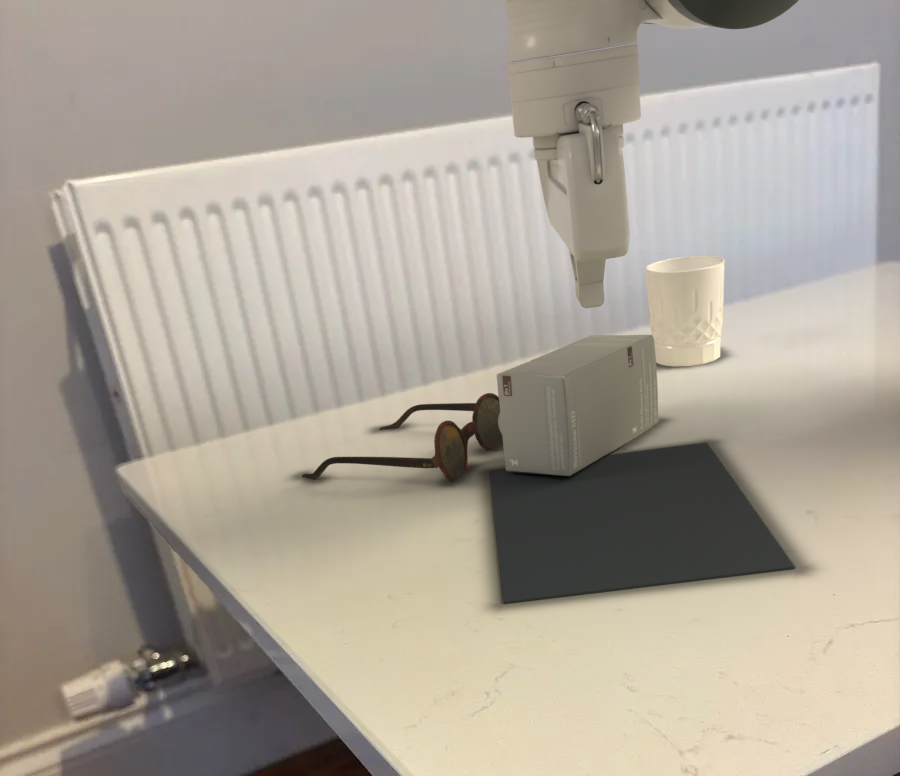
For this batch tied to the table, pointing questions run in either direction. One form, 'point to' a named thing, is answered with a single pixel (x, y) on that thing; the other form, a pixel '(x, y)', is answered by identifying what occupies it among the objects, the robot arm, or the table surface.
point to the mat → (627, 526)
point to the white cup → (686, 309)
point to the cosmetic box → (577, 403)
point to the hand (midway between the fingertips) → (590, 303)
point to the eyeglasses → (441, 439)
